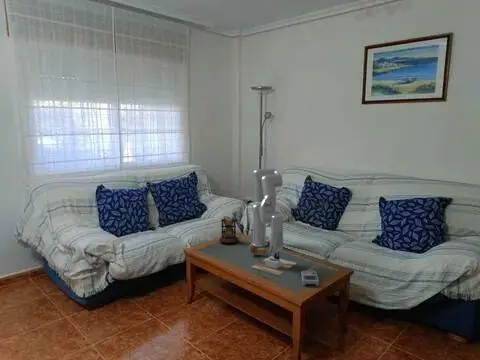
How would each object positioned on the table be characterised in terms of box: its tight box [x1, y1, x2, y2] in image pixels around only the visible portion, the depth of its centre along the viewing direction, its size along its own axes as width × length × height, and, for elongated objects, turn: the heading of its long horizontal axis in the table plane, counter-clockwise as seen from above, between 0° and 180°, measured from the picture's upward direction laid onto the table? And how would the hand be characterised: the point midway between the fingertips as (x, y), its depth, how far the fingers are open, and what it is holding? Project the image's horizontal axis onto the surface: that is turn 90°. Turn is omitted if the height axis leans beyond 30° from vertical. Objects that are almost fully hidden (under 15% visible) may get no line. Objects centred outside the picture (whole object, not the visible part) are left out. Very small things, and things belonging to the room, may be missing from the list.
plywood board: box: [251, 255, 297, 278], centre depth 217 cm, size 22×20×2 cm
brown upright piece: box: [218, 216, 239, 245], centre depth 264 cm, size 15×15×20 cm
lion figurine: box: [248, 244, 269, 258], centre depth 233 cm, size 15×5×9 cm, turn 86°
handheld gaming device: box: [300, 269, 320, 287], centre depth 198 cm, size 9×15×4 cm, turn 174°
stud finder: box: [265, 256, 281, 269], centre depth 215 cm, size 5×8×4 cm, turn 55°
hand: (276, 261), depth 219 cm, fingers closed
